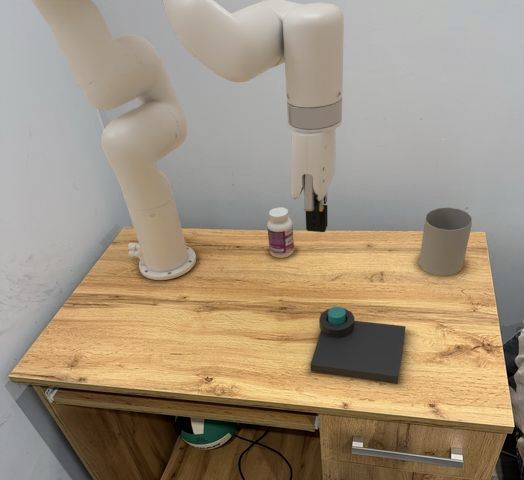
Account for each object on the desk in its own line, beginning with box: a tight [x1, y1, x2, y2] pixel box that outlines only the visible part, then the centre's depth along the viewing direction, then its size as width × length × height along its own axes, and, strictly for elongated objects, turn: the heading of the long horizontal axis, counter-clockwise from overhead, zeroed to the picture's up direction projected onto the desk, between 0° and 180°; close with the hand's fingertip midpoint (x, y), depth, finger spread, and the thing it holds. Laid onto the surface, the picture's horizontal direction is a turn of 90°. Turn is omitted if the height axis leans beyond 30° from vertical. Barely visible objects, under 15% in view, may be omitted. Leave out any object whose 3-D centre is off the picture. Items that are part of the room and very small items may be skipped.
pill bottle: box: [266, 206, 295, 259], centre depth 106 cm, size 5×5×10 cm
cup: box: [418, 207, 473, 277], centre depth 96 cm, size 8×8×10 cm
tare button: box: [328, 306, 346, 325], centre depth 86 cm, size 3×3×2 cm
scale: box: [309, 307, 407, 384], centre depth 84 cm, size 14×13×4 cm
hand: (316, 228), depth 82 cm, fingers closed
